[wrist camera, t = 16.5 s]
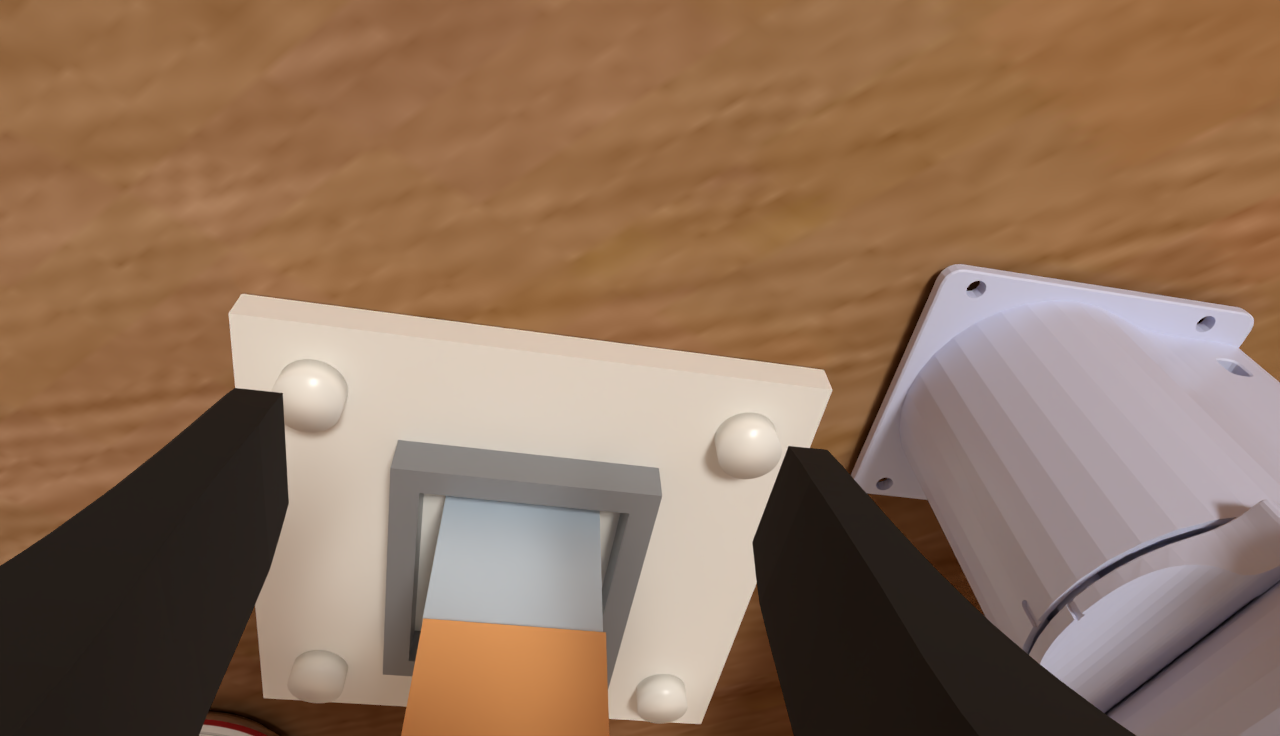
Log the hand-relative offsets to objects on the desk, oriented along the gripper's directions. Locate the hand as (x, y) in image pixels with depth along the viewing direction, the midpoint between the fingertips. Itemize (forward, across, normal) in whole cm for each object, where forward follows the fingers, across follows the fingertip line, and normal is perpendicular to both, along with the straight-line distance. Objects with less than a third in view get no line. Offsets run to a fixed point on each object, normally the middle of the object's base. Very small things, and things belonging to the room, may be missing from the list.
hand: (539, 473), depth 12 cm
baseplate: (+10, 0, +12) cm, 16 cm away
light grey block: (+9, 0, +12) cm, 15 cm away
